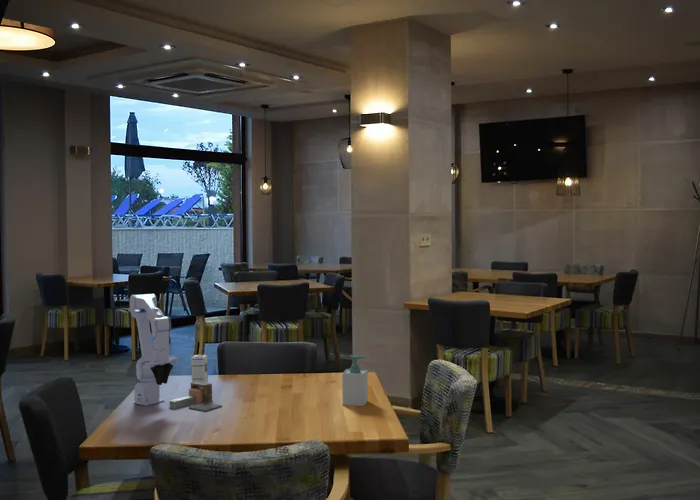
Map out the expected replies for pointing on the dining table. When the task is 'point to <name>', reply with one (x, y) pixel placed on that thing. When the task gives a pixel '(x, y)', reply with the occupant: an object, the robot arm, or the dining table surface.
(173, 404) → the silver square bar
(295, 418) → the dining table surface
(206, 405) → the coaster
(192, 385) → the bracket
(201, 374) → the syrup box
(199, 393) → the block
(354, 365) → the soap bottle
